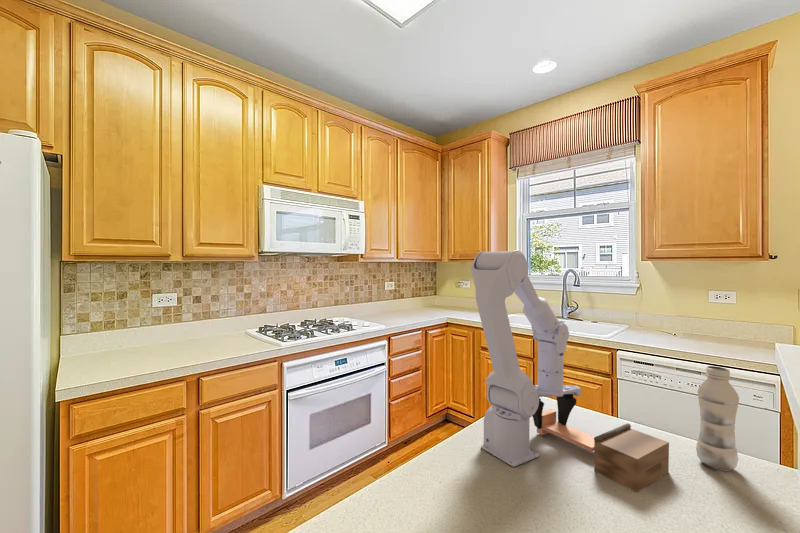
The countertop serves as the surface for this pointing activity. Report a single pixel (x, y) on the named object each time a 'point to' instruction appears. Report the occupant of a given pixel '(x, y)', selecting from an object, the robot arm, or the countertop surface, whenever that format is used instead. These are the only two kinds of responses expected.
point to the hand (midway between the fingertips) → (550, 426)
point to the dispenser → (630, 457)
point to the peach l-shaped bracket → (564, 431)
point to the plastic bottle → (717, 420)
